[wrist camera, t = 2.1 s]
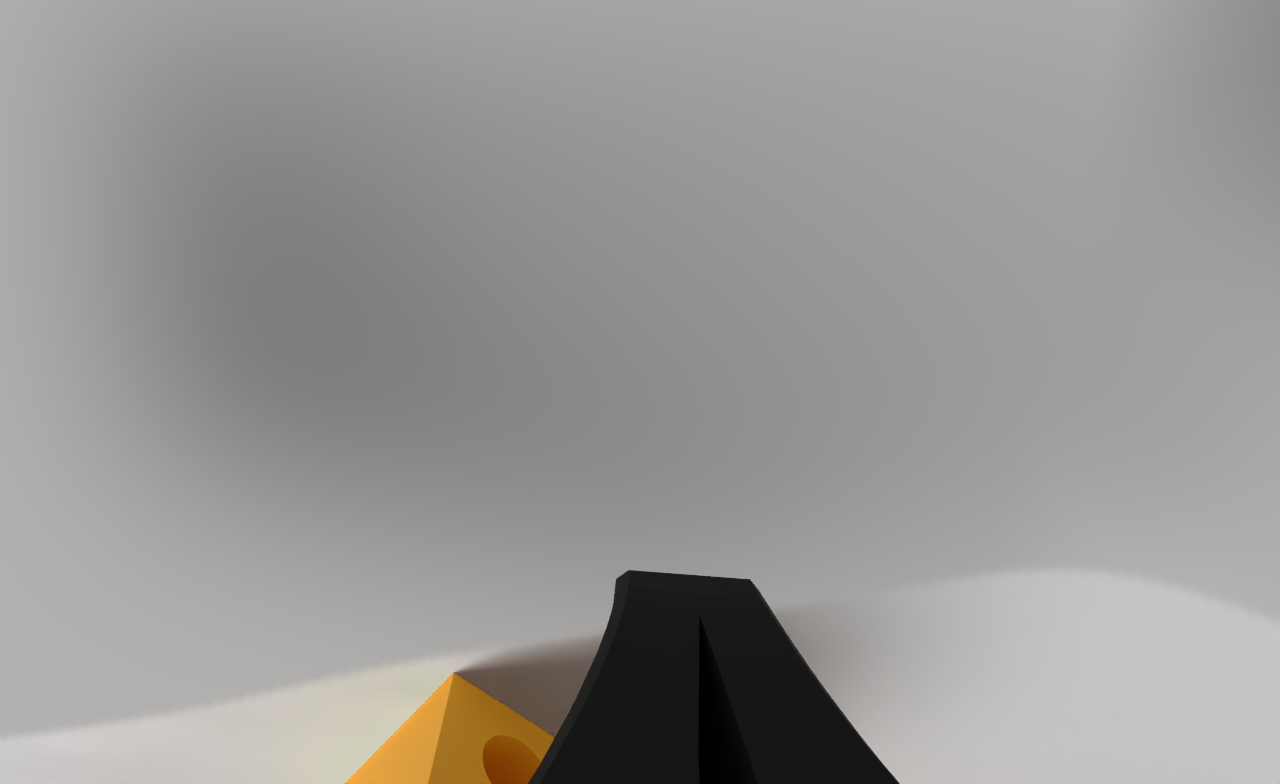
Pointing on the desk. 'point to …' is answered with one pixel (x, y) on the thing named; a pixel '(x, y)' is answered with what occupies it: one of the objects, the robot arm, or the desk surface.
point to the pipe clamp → (459, 743)
